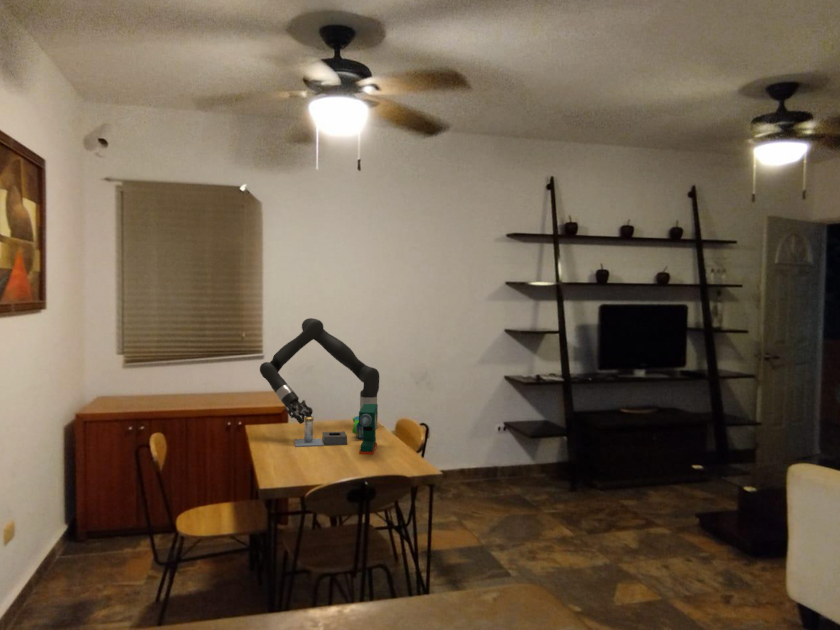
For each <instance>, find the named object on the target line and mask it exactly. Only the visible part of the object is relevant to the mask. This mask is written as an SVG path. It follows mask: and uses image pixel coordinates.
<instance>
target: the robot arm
mask: <svg viewBox="0 0 840 630" xmlns="http://www.w3.org/2000/svg"><path fill="white" fill-rule="evenodd" d="M301 330H302V332H300V334H298V335H297V336H296V337H295V338H293V339H292V340H290V341H289V342H287V343H286V344H285V345H283V346H282V347H281V348H280V349H279V350H278V351H277V352H276V353H274V355H273V357H272V359H271V360H270V361H269V362H268V361H266V362H263V363H261V365H260V367H259V372H260V375H261V376H262V378H264V379H265V380H266V381H267V382H268V384H269V385H270V387H271V389H272V390H273V391H274V393H275V394H276V396H277V397H278V399H279V401H281V403H282V404H283V405H284V407H285V409H284V411H286V413H287V414H288V415H289V417H290V418H291V419H295V420H296V421H297V422H298V423H299V424H300V425H301V424H303V423H305V420H304V419H303V418H302V416H300V414H303V415H304V417H313V416H312V414H311V413H310V412H311V409H310V407H309V406H308V405H307V404H306V402H305V401H301V402H300V401H299V399H300V398H299V396H298V395H297V394H296V392H295V391H294V389H293V388H292V387H291V386H290V385H288V383H287V382H286V380H285V379H284V378H283V377H282V376H281V375H280V373H279V372H280V371H281V370H282V368H283V366H284V365H285V364H287V363H288V362H289V361H290V360H291V359H293V357H294V356H295V355H296V354H297V353H298V352H299V351H300V350H301V349H303V348H304V347H305V346H307V344H309V343H310V342H311V341H313V340H314V341H315V342H317V343H318V344H319V345H320V346H321V347H322V348H323V349H324V350H325V351H326V352H327V353H328V354H329V355H331V356H332V357H333V358H334V359H335V360H336V361H337V362H339V363H340V364H341V365H343V366H344V367H346V368H347V369H348V370H350V371H351V372H352V373H353V375H355V376H356V377H357V378H358V379H359V380H360V382H361V383H363V388H362V390H361V391H360V393H359V411H360V410H361V408H362V406H363V405H364V404H378V394H379V393H378V392H379V390H380V373H379V371H378V369H376V368H375V367H373V366H372V367H371V366H368V365H366V364H365V363H364V362H362V360H360V359H359V358H358V357H357V355H355V353H354V351H353V350H352V349H351V348H350V347H349V346H348V345H347V344H346V343H345V342H343V341H342V340H340V339H339V338H337V337H335V336H334V335H332V334H330V333H329V332H328V331H326V330H325V329H324V323H323V322H322V320H319V319H317V318H312V317H309V318H306V319H305V320H303V321H302V323H301ZM299 413H300V414H299ZM378 413H379V412H378V410H377V414H378ZM378 417H379V416H378ZM378 417H377V421H376V429H378Z"/></svg>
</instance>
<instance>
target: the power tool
mask: <svg viewBox="0 0 840 630" xmlns="http://www.w3.org/2000/svg"><path fill="white" fill-rule="evenodd" d="M378 406H379V405H378V403H377V404H364V405H363V406H362V408H361V410H360V409H359V412H358V416H359V427H363V439H362V442H361V444H360V450H359V451H358V454H359V455H374V454H375V451H376V448H377V445H378V442H377V437H376V435H377V434H376V432H377V431H376V421H377V422H378V419H377V417H379V416H378V414H377V411H378Z"/></svg>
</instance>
